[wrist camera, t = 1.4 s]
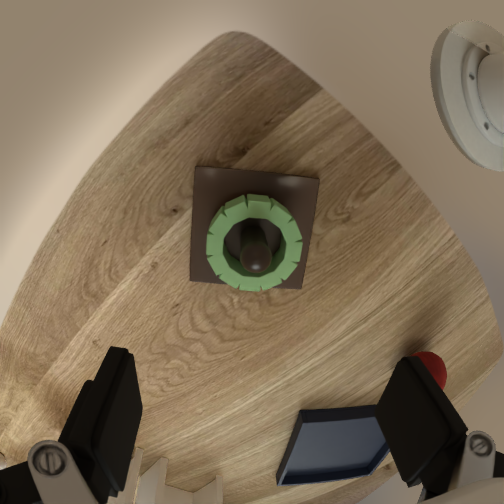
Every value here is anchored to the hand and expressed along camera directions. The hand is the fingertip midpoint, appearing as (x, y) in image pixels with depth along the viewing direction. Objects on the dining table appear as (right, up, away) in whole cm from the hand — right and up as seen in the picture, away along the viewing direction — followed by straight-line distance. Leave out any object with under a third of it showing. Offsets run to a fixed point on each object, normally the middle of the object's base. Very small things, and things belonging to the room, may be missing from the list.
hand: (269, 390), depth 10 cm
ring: (-1, +6, +15) cm, 16 cm away
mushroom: (-65, -47, +34) cm, 87 cm away
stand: (-1, +6, +16) cm, 18 cm away
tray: (+13, -25, +29) cm, 40 cm away
